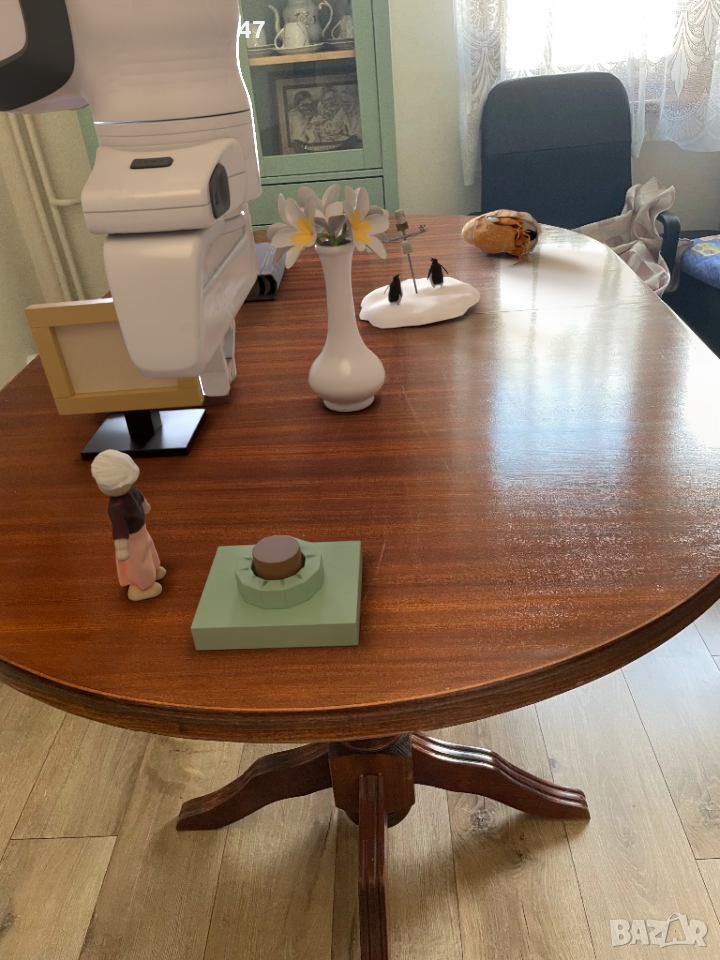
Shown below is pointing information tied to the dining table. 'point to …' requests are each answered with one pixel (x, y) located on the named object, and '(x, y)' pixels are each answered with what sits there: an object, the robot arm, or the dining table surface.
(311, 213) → the flower vase
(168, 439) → the stand
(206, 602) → the switch block
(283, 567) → the button
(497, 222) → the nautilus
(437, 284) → the figurine
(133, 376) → the picture frame
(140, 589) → the grandmother figurine
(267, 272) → the diary
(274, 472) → the dining table surface
